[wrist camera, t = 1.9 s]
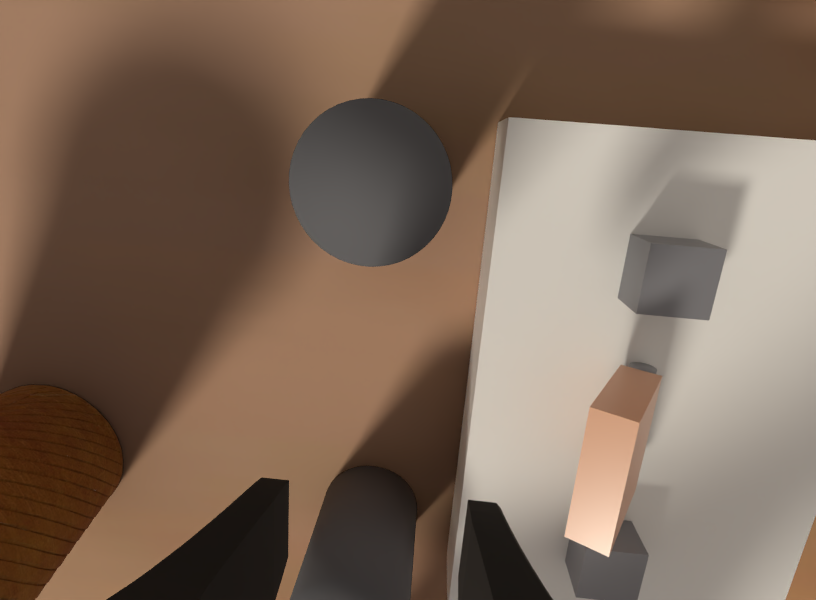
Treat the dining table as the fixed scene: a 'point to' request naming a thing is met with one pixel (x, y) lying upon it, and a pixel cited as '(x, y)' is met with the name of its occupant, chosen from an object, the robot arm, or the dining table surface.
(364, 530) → the post
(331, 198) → the post
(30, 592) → the disposable coffee cup
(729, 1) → the dining table surface
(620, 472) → the tan rectangular block
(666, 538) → the panel
